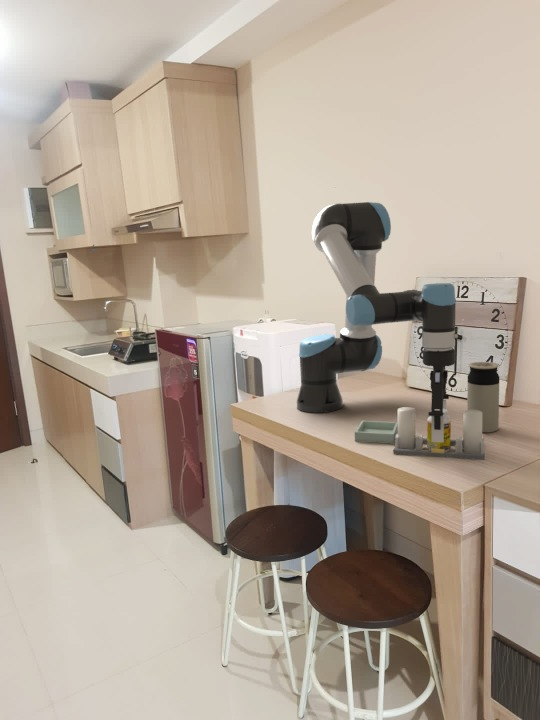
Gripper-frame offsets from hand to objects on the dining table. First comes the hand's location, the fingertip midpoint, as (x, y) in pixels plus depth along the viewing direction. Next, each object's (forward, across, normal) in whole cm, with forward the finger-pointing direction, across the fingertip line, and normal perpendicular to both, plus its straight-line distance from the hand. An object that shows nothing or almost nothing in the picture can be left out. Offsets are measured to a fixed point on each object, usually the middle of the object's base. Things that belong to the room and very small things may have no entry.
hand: (439, 432), depth 135 cm
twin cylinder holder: (+4, 0, 0) cm, 4 cm away
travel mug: (+4, +19, -10) cm, 22 cm away
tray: (+4, +8, +17) cm, 19 cm away
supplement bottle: (+5, 0, 0) cm, 5 cm away
